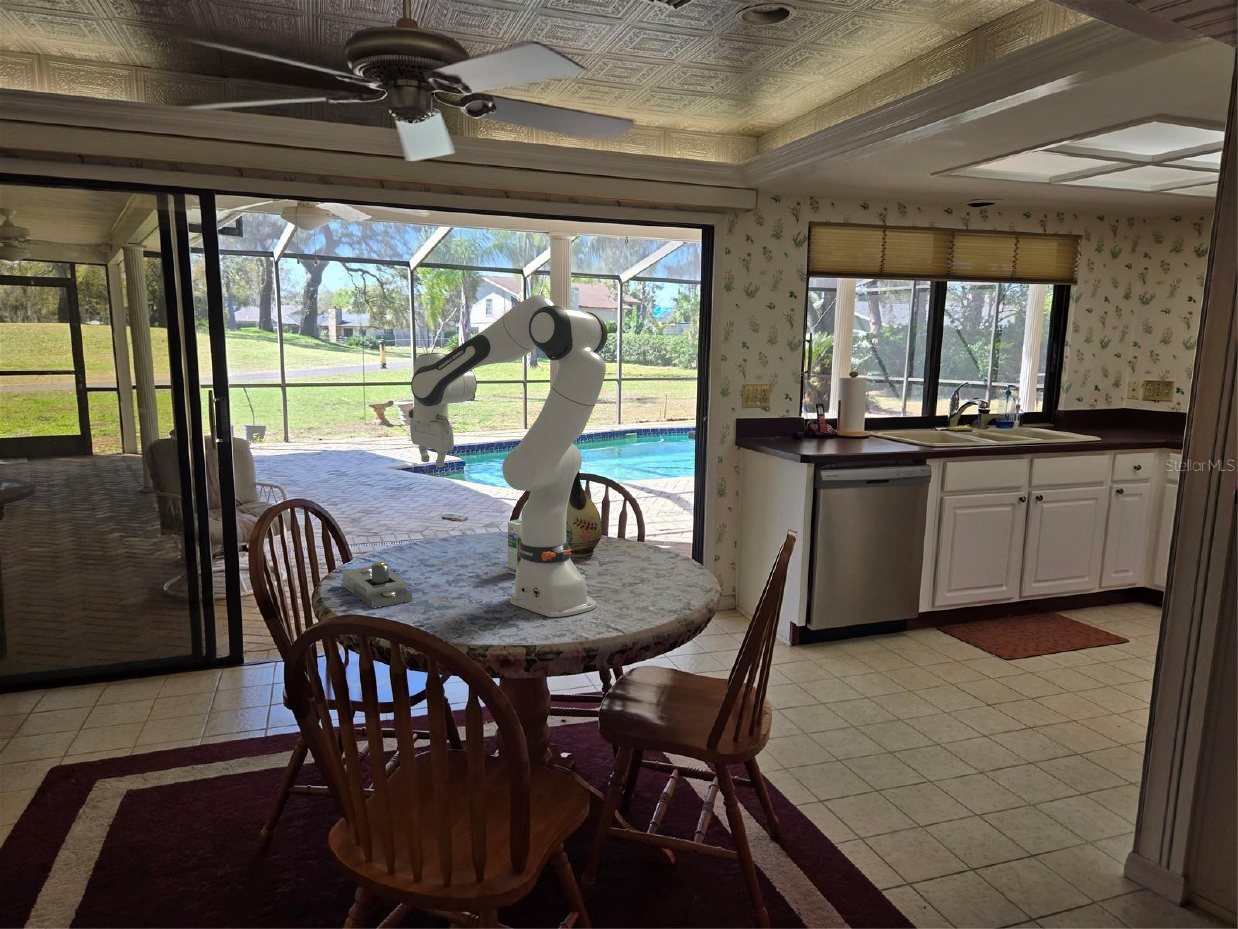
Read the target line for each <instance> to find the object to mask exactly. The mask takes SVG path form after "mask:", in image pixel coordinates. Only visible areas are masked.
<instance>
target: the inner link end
mask: <svg viewBox="0 0 1238 929" xmlns="http://www.w3.org/2000/svg"><path fill="white" fill-rule="evenodd" d="M353 595H354V596H355V597H356V596H357V597H358V598H357V597H356V598H357V599H359V600H360V599H361V600H362V601H363V602H362V601H361V600H360V601H361V602H362V603H364V602H365V603H366V604H367V605H366V604H365V603H364V604H365V605H366V606H367V607H369V606H370V607H371V608H374V609H376V608H375V607H379V606H385V607H388V606H389V607H390V606H393V605H394V604H395V605H400V604H404V603H403V602H405V603H410V602H413V593H412V592H411V591H409V590H408V589H407V590H406V591H400V592H395V591H387V592H383V595H378V596H373V597H368V598H367V597H366V596H365V595H363V594H362V593H361V592H359V591H358V590H357V589H356V588H354V594H353ZM399 603H400V604H399ZM370 607H369V608H370ZM371 608H370V609H371ZM379 608H380V607H379Z"/></svg>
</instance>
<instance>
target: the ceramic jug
mask: <svg viewBox="0 0 1238 929" xmlns="http://www.w3.org/2000/svg"><path fill="white" fill-rule="evenodd" d="M602 536H603V522H602V518H601V515H600V512H599V509H598V507H597V506H596V505H595V502H594V501H593V500H592V498H591V497H590V496H589V495H588V493H587V492H586V489H585V490H584V488H583V484H582V483H581V472H580V470H579V471H578V473H577V475H576V476H575V479H574V481H573V485H572V489H571V493H570V497H569V501H568V507H567V518H566V541H567V542H568V545H569V548H570V549H572V550H571V551H570V553H572V554H571V557H570V558H583V557H587V556H592V555H594V553H595V550H594V549H596V548H597V546H598V544H599V543H600V541H601V539H602Z"/></svg>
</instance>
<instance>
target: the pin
mask: <svg viewBox="0 0 1238 929" xmlns="http://www.w3.org/2000/svg"><path fill="white" fill-rule="evenodd" d="M370 567H371V570H372V586H375V585H381V584H387V583H389V573H388V570H389V564H388V563H386V562H384V561H377V562H374V564H372V565H371V566H370Z"/></svg>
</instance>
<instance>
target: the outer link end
mask: <svg viewBox="0 0 1238 929" xmlns="http://www.w3.org/2000/svg"><path fill="white" fill-rule="evenodd" d="M388 573H389V583H387V584H381V585H375V586H372V570H371V566H365V567H360V568H353V569H347V570H342V572H341V574H342V576H341V577H342V586H343V588H344V589H346V588H347V589H348V590H347V589H346V590H347V591H349V592H350V591H351V592H352V593H354V588H356V589H357V590H358V591H359V592H361V593H362V594H363V595H365V596H366V597H367V598H368V597H373V596H378V595H383V592H387V591H395V592H400V591H406V590H408V582H407V581H406V580H404V579H403V578H401V577H400V576H398V575H397V574H395V573H393V572H392V571H390V570H389V569H388ZM351 592H350V593H351ZM352 593H351V594H352Z"/></svg>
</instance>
